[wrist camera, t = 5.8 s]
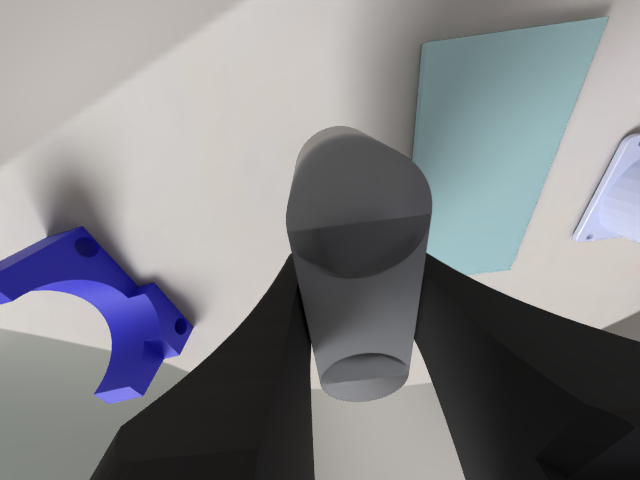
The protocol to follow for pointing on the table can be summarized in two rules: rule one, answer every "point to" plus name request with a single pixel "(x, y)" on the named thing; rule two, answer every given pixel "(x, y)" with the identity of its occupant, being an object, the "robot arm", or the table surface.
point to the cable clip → (103, 306)
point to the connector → (359, 258)
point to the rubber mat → (494, 133)
